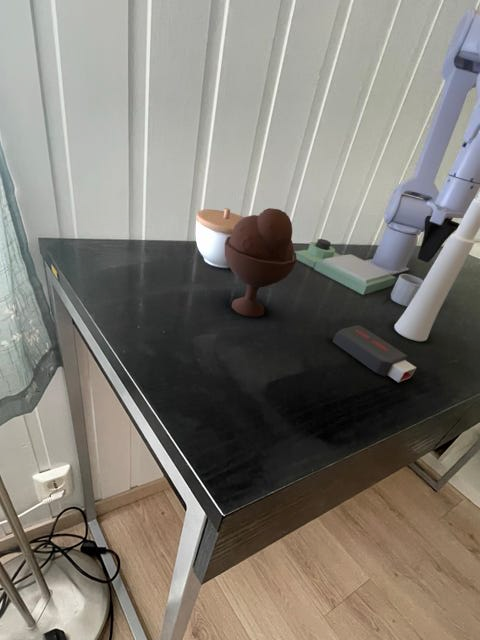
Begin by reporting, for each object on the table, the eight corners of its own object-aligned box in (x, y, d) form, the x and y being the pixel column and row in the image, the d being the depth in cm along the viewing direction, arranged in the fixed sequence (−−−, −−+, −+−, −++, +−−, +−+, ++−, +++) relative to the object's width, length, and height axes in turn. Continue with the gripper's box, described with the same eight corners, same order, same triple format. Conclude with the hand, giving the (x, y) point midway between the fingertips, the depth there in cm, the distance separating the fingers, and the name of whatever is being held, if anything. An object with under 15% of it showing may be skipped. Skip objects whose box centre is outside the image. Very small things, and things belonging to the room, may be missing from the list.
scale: (345, 263, 90) (349, 251, 88) (391, 286, 85) (397, 274, 83) (313, 269, 82) (317, 257, 81) (362, 295, 77) (368, 282, 75)
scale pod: (322, 252, 93) (326, 240, 91) (342, 262, 90) (347, 249, 88) (292, 257, 85) (296, 243, 83) (313, 268, 83) (317, 254, 81)
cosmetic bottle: (415, 325, 70) (490, 191, 56) (433, 343, 66) (519, 203, 52) (387, 322, 69) (457, 184, 54) (404, 340, 64) (484, 195, 50)
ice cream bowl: (279, 301, 66) (306, 206, 56) (279, 331, 58) (310, 226, 48) (220, 287, 65) (236, 189, 55) (211, 316, 57) (228, 206, 47)
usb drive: (352, 336, 62) (359, 321, 60) (413, 377, 56) (422, 361, 54) (332, 341, 59) (338, 325, 57) (393, 385, 53) (403, 369, 51)
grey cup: (396, 293, 82) (407, 272, 79) (420, 304, 79) (431, 283, 76) (384, 297, 78) (394, 275, 75) (408, 309, 76) (420, 288, 73)
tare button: (320, 245, 88) (322, 238, 86) (330, 250, 86) (333, 243, 85) (313, 246, 86) (315, 239, 85) (323, 251, 84) (325, 244, 83)
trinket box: (180, 256, 72) (185, 201, 66) (213, 247, 80) (221, 197, 73) (225, 277, 69) (234, 222, 63) (255, 266, 76) (267, 215, 70)
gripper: (450, 172, 70) (414, 247, 79) (432, 172, 61) (392, 258, 70) (488, 183, 68) (446, 259, 77) (475, 185, 58) (429, 273, 67)
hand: (423, 260), depth 73 cm, fingers closed
